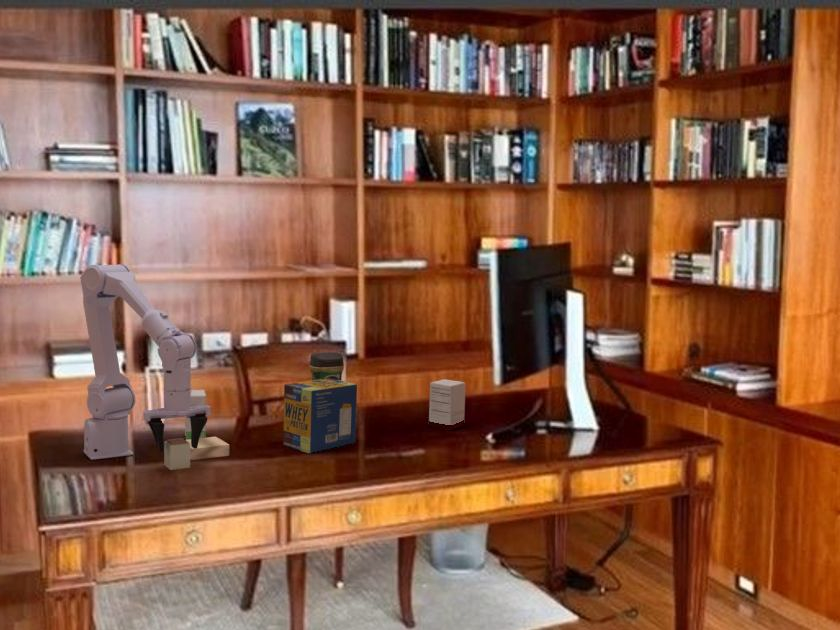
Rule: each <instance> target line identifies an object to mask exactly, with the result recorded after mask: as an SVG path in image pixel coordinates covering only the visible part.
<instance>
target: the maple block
mask: <svg viewBox="0 0 840 630" xmlns="http://www.w3.org/2000/svg"><path fill="white" fill-rule="evenodd" d="M185 440H186V439H185ZM186 441H188V442H189V443H190V461H196V460H203V459H210V458H219V457H220V458H221V457H228V456H230V444H229V443H227V442H225V441H224V440H223V439H221V438H219V437H217V436H210V437H207V436H206V438H199V442H198V447H197V448H193V447H191V439H189V440H186Z"/></svg>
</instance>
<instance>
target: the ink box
mask: <svg viewBox="0 0 840 630" xmlns="http://www.w3.org/2000/svg"><path fill="white" fill-rule="evenodd" d="M202 405H207V395H206V391H205V389H191V406H202ZM184 436H186V437H185V440H189V439H191V421H190V416H187V417H184ZM200 438H207V423H206V424H205V426H204V428H203V430H202V432H201V435H200Z"/></svg>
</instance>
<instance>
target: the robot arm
mask: <svg viewBox="0 0 840 630" xmlns="http://www.w3.org/2000/svg"><path fill="white" fill-rule="evenodd" d="M80 284H81V285H80V286H81V291H82V295H83V298H82V304H83V310H84V317H85V322H86V327H87V334H88V340H89V346H90V353H91V357H92V363H93V369H94V375H95V376H94V378H93V379H92V381H90V383H88V385H87V399H86V406H87V409H88V412H89V413H90V414H91V416H92V417H90V418H89V417H88V418H85V420H84V425H83V447H84V448H83V453H84V454H85V455H86V456H87V457H88V458H89V459H90V460H100V459H101V460H102V459H109V458H119V457H127V456H133V455H134V452H133V451H132V450H130V448H129V415H131V410H132V409H134V407H135V405H136V394H135V392H134V389H133V388H132V386H131V381H130V379H129V378H128V377H126V376H125V375H124V374H123V373H121V370H120V363H119V357H118V352H117V346H116V339H115V333H114V327H113V322H112V316H111V315H112V314H111V309H110V306H111V304H113V302H114V301H115V300H116V299H117V298H118V297H121V299H122V300H123V301H124V302H125V303H126V304H127V305H128V306H129V307H130V308H131V309H132V310H133V311H134V312H135V313H136V314H137V315H138V317H140V318H141V319H142V320H141V327H142V329H143V330H144V331H145V332H146V334H147V335H148V336H149V337H150V338H151V340H152V341H153V342H154V343H155V344H156V345H157V347H158V348H157V354H158V356H159V359H160V360H161V367H162V370H163V407H162V408H155V409H149V410H143V411H142V419H143V421H145V422H146V423H147V425H148V426H149V428H150V430H151V432H152V434H153V435H152V436H153V437H154V441H155V444H156V448H157V450H156V451H157V452H158V453H161V454H162V453H164V432H165V430H164V429H165V423H163V420H164V419H166V420H167V419H175V418H185V417H187V416H190V421H191V447H193V448H197V447H198V442H199V438H200V435H201V432H202V430H203V428H204V426H205V424H206V425H207V422H208V416H211V406H210V405H208V404H206V405H202V406H191V390H192V389H191V387H192V379H191V378H192V368H191V365H192V359H193V358H194V356H195V355H196V353H197V344H196V341H195V339H194V337H193V336H192V335H191V334H190V333H185V332H183V331H181V330H180V328H178V327H177V326H176V324H175V323H174V322H173V321H172V320H171V319H170V318H169V314H168V313H167V312H166V311H163V310H162V309H155V308H154V307H155V306H153V305H152V304H151V302H150V300H149V299H148V297H147V296H146V295H145V293H144V292H143V291H142V289H141V288H140V287H139V286H138V284H137V282H136V274H135V273H134V272H133V271H131V269H130V267H129V266H128V265H126V264H124V263H118V264H89V265H88V266H87V267H86V268H85V270H83V272H82V274H81V275H80ZM107 387H108V388H107Z"/></svg>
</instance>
